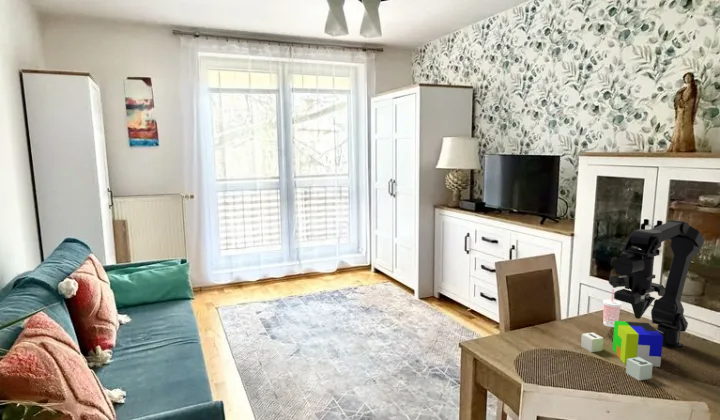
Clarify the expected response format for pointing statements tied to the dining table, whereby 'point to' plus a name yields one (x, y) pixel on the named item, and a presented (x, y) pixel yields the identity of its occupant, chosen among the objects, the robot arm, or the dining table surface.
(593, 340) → the digit block one
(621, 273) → the robot arm
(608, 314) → the beverage cup
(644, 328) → the puzzle toy
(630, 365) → the digit block seven
